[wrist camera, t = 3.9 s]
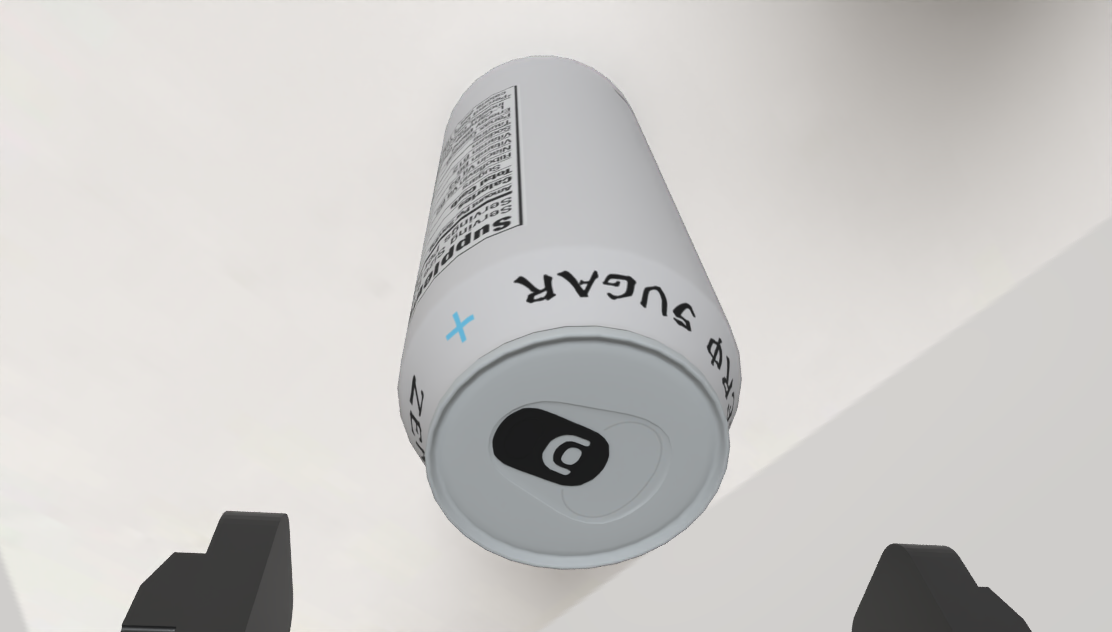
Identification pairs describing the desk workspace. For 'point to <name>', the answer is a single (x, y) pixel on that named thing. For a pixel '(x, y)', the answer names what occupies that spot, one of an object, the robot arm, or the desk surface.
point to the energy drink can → (563, 329)
